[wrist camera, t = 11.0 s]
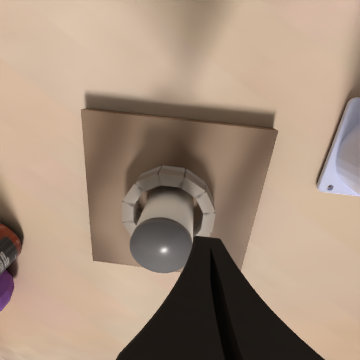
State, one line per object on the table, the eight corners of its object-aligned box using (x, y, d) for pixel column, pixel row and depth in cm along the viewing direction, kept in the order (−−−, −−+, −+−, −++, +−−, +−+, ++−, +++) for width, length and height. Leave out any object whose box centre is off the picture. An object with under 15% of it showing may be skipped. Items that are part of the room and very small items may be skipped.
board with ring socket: (273, 128, 18) (287, 135, 15) (236, 271, 25) (241, 296, 22) (87, 108, 19) (67, 112, 16) (97, 253, 25) (84, 274, 22)
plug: (195, 186, 20) (195, 225, 14) (191, 227, 21) (189, 276, 16) (147, 182, 20) (128, 219, 14) (147, 223, 22) (130, 269, 16)
